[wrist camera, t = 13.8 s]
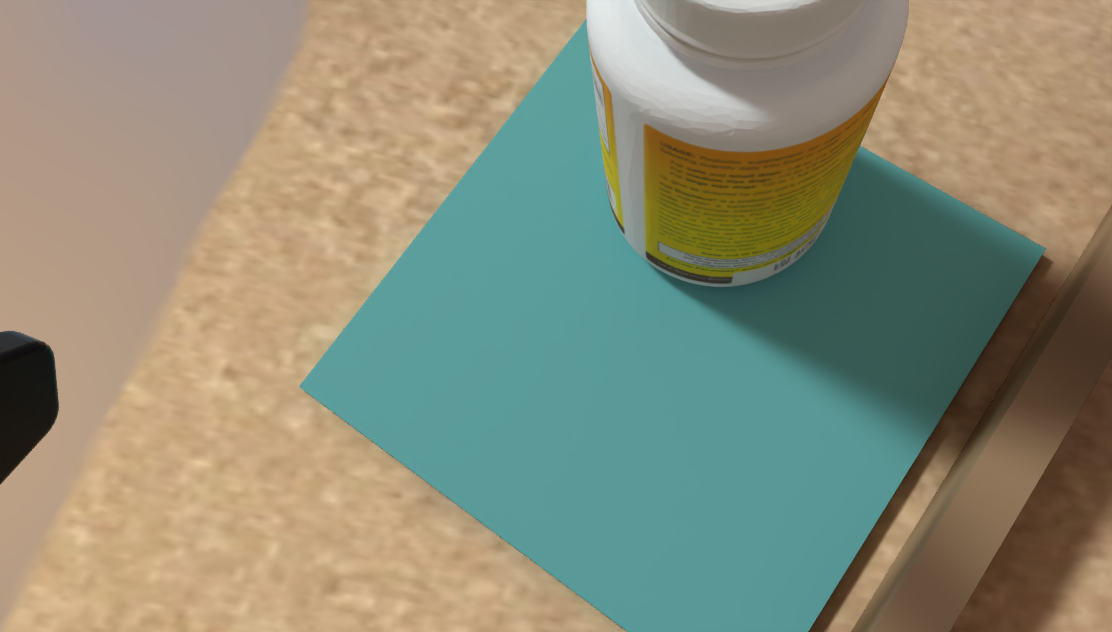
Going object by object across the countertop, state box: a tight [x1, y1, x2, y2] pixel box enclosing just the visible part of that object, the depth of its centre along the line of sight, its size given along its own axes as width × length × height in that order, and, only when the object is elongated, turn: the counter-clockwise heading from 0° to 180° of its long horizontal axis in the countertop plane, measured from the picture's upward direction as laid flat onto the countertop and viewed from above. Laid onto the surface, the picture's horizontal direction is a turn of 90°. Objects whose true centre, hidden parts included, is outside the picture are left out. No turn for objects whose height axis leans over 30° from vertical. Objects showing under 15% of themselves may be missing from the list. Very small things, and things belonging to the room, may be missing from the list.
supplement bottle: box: [586, 0, 909, 287], centre depth 19 cm, size 6×6×10 cm
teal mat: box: [299, 19, 1046, 632], centre depth 23 cm, size 13×13×1 cm
